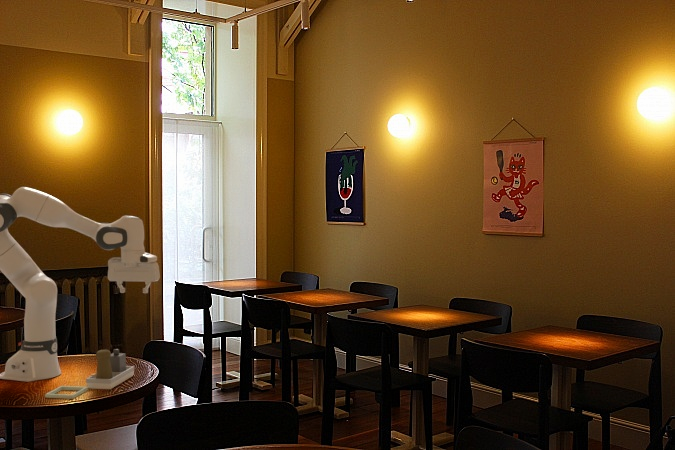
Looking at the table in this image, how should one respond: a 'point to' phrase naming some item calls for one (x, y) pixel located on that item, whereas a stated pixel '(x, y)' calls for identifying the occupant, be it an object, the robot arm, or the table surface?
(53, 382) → the table surface
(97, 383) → the white low container
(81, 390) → the tray frame
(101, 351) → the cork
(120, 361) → the grey knobbed block
